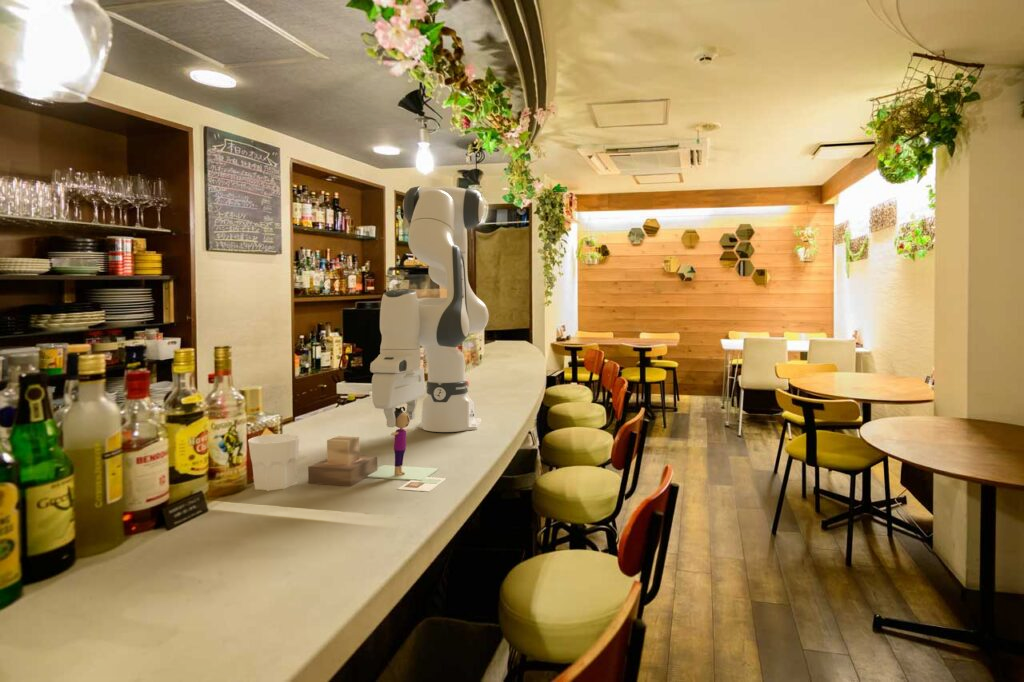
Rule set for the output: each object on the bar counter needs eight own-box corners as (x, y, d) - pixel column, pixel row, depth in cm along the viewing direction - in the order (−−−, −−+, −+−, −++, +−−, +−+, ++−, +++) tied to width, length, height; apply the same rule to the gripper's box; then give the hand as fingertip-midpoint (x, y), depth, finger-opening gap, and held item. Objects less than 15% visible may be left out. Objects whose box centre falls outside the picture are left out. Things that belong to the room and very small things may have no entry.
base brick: (338, 469, 141) (337, 454, 141) (377, 471, 139) (377, 456, 139) (308, 482, 130) (308, 466, 130) (350, 486, 127) (350, 469, 127)
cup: (310, 481, 132) (309, 435, 131) (278, 493, 122) (276, 444, 122) (272, 477, 135) (271, 432, 134) (238, 489, 125) (237, 441, 125)
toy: (397, 479, 129) (401, 408, 130) (372, 477, 130) (377, 407, 131) (414, 471, 139) (418, 405, 140) (391, 469, 140) (395, 404, 141)
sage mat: (383, 466, 144) (383, 465, 144) (438, 469, 141) (438, 468, 141) (362, 477, 134) (362, 475, 134) (421, 481, 131) (421, 479, 131)
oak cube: (339, 457, 137) (339, 435, 137) (359, 459, 136) (359, 436, 136) (327, 463, 133) (326, 440, 132) (348, 464, 131) (347, 441, 131)
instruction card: (416, 476, 134) (416, 475, 134) (446, 478, 133) (446, 477, 133) (397, 489, 125) (397, 488, 125) (429, 491, 123) (429, 490, 123)
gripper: (406, 358, 147) (407, 414, 148) (366, 365, 128) (367, 430, 128) (431, 358, 146) (431, 415, 146) (393, 365, 126) (394, 432, 127)
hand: (401, 422), depth 137 cm, fingers open, 8 cm apart
